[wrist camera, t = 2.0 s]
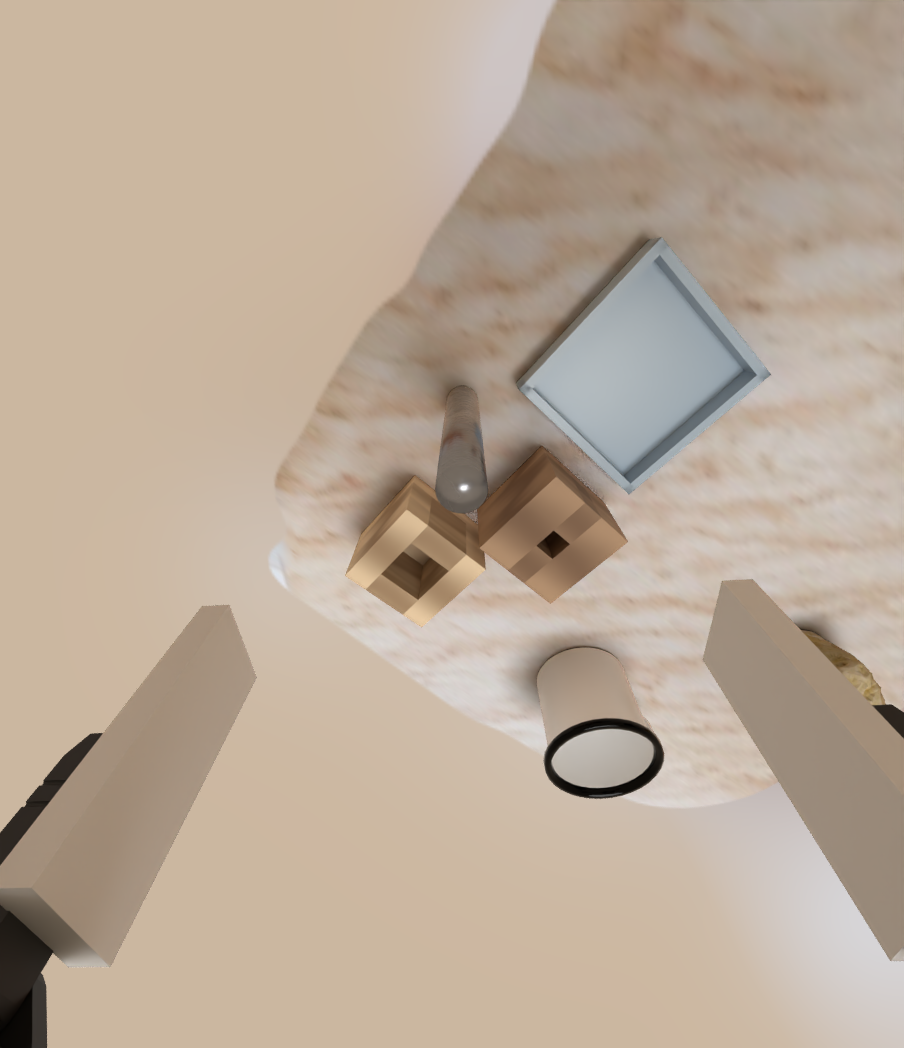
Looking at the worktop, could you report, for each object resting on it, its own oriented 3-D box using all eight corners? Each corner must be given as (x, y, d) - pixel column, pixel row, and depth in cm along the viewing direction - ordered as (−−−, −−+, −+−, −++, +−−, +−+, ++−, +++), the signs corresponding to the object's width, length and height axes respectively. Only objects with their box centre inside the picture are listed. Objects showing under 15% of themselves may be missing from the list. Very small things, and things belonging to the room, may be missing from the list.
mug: (512, 690, 46) (522, 777, 38) (567, 626, 42) (591, 708, 34) (609, 730, 49) (638, 820, 41) (671, 673, 44) (716, 760, 37)
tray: (649, 239, 28) (661, 237, 26) (753, 368, 31) (770, 374, 29) (515, 383, 32) (519, 389, 30) (620, 483, 35) (629, 494, 33)
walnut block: (541, 445, 34) (556, 476, 29) (604, 502, 36) (628, 541, 31) (477, 508, 37) (479, 548, 31) (538, 558, 39) (550, 603, 34)
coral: (736, 706, 46) (783, 779, 40) (724, 641, 42) (774, 710, 36) (836, 682, 45) (903, 754, 38) (834, 612, 41) (907, 678, 34)
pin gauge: (461, 379, 32) (459, 454, 19) (484, 400, 32) (498, 488, 19) (440, 403, 33) (424, 491, 19) (463, 423, 33) (463, 522, 20)
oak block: (415, 474, 35) (406, 509, 30) (482, 527, 38) (485, 569, 32) (361, 533, 38) (345, 575, 33) (427, 580, 40) (421, 627, 35)
